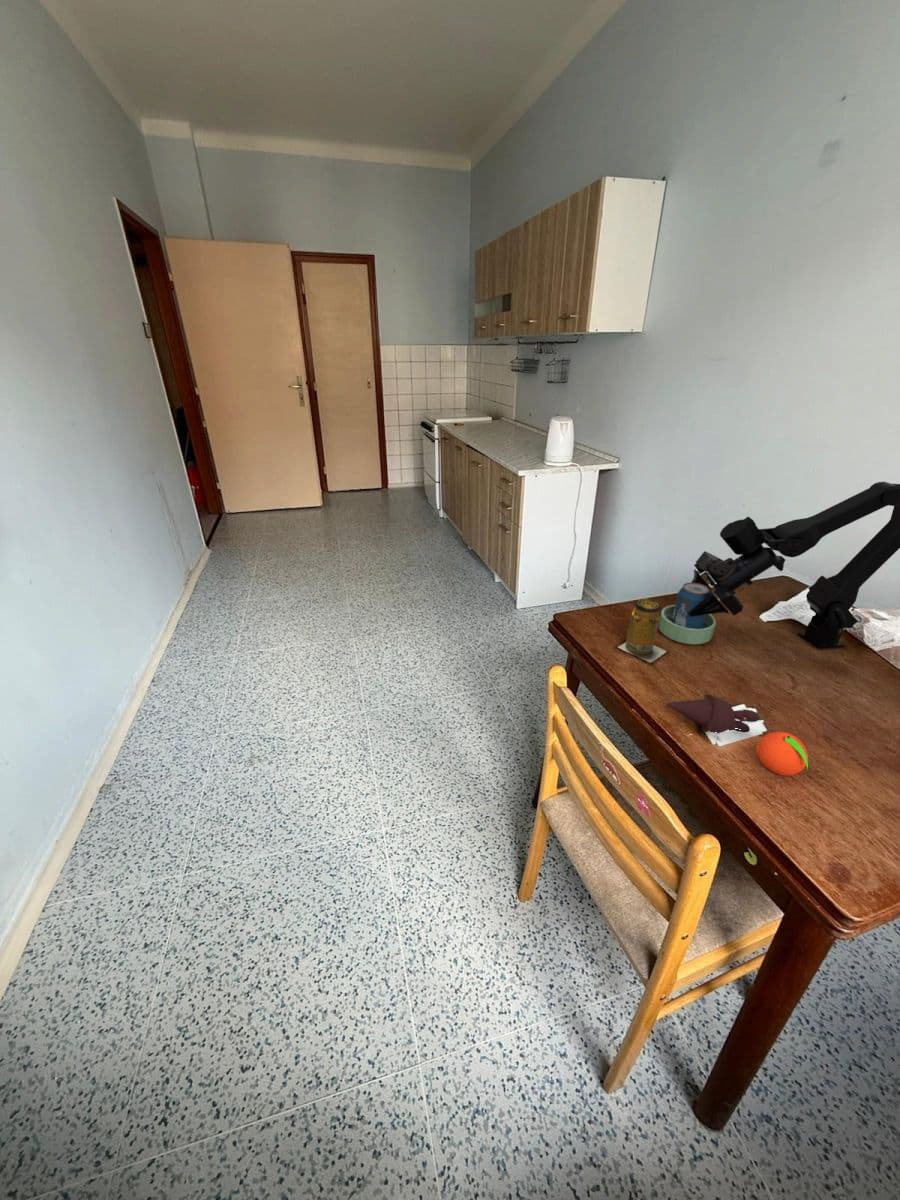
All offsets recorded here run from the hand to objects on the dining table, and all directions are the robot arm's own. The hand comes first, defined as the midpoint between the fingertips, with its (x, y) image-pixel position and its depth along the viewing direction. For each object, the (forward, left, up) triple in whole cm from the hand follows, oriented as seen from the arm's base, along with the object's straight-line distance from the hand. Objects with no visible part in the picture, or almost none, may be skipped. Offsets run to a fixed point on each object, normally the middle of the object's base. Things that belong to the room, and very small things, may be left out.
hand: (684, 606), depth 115 cm
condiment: (+13, +6, -7) cm, 16 cm away
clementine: (+7, +43, -7) cm, 44 cm away
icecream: (+13, +32, -7) cm, 36 cm away
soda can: (-1, 0, -7) cm, 7 cm away
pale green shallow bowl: (-1, 0, -7) cm, 7 cm away
